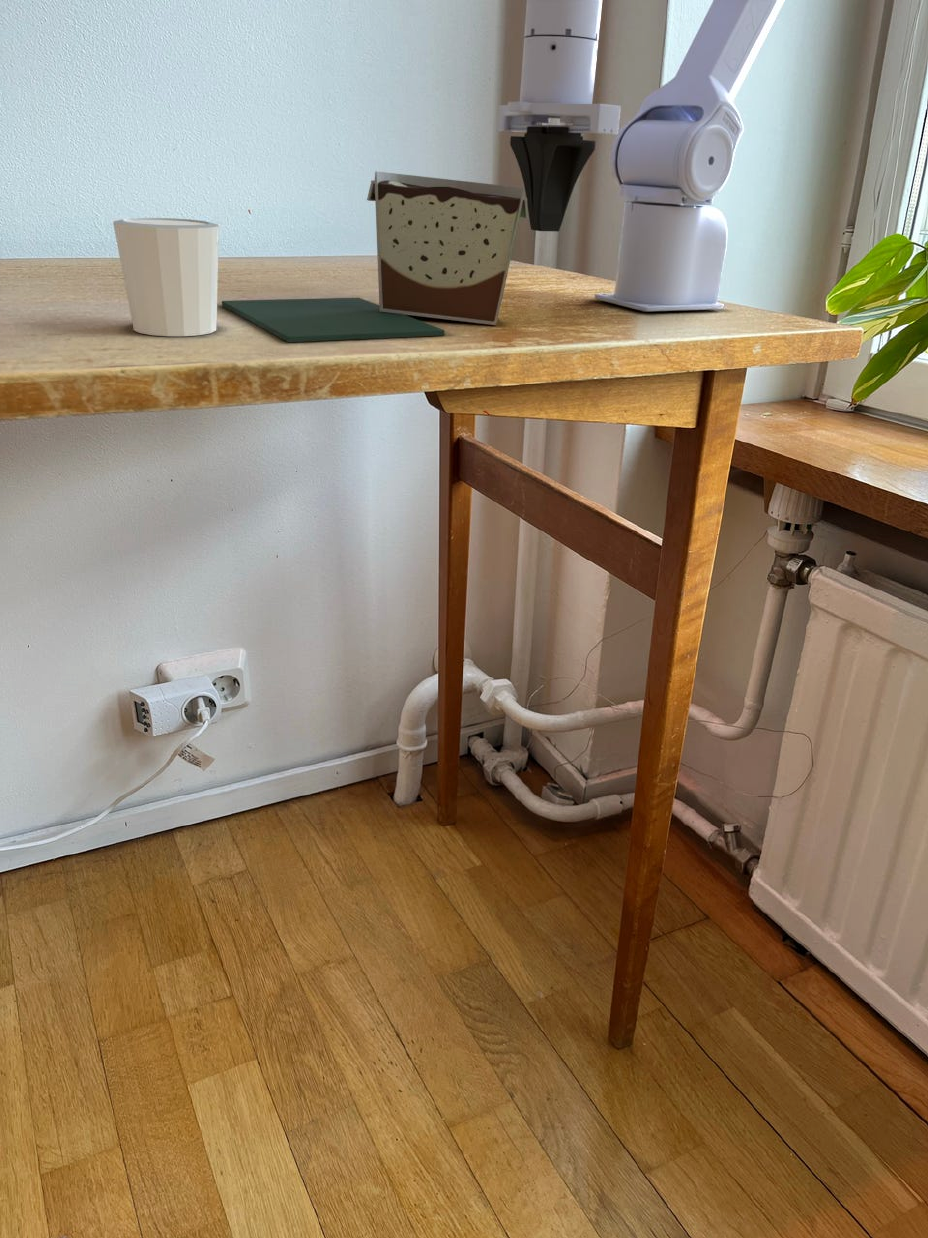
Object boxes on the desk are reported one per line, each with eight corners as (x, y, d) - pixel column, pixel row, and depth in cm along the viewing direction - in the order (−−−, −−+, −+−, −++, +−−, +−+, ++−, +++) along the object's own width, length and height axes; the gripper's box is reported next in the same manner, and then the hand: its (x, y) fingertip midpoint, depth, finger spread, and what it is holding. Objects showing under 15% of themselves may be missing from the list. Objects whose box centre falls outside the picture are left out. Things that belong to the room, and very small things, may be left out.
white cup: (133, 339, 62) (122, 225, 59) (115, 322, 68) (104, 216, 65) (236, 335, 65) (231, 226, 62) (212, 319, 71) (205, 217, 68)
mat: (358, 302, 82) (358, 297, 82) (444, 335, 70) (444, 329, 69) (221, 305, 77) (221, 300, 76) (288, 342, 64) (288, 336, 64)
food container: (518, 318, 80) (534, 188, 76) (515, 327, 74) (531, 188, 70) (375, 301, 81) (382, 171, 76) (361, 309, 75) (368, 170, 71)
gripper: (470, 40, 77) (461, 221, 83) (571, 27, 65) (553, 238, 71) (542, 49, 80) (529, 223, 86) (651, 38, 69) (627, 239, 75)
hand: (545, 230), depth 79 cm, fingers closed
